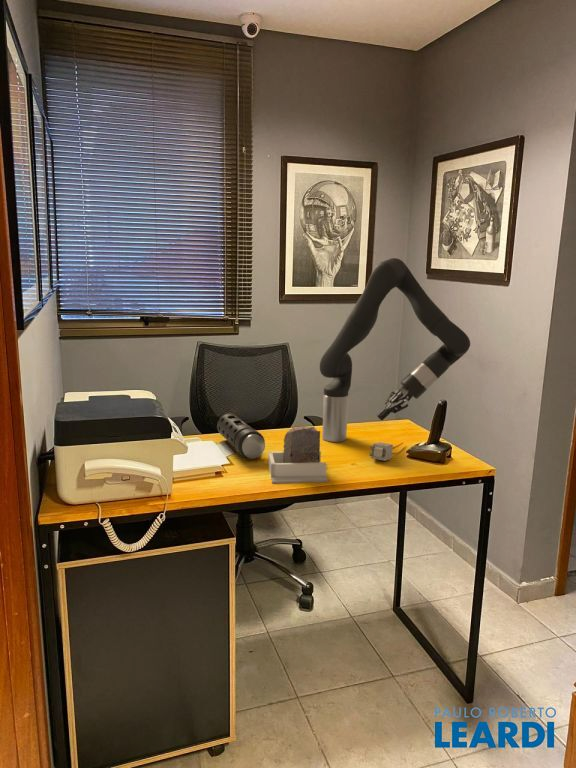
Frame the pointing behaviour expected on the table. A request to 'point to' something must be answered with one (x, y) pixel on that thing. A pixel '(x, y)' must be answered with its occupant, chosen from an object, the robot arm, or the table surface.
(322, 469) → the open rectangular box
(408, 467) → the table surface
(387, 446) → the electrical component
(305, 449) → the geological specimen
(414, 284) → the robot arm
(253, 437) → the muzzle brake
